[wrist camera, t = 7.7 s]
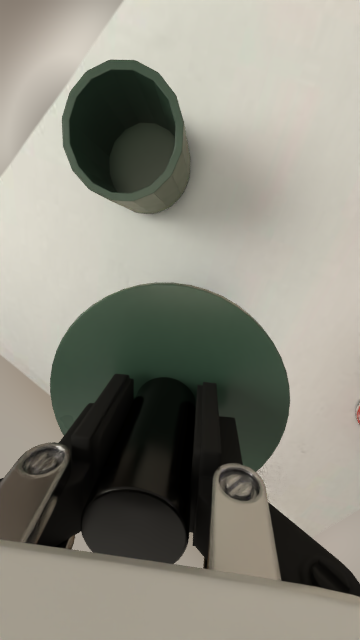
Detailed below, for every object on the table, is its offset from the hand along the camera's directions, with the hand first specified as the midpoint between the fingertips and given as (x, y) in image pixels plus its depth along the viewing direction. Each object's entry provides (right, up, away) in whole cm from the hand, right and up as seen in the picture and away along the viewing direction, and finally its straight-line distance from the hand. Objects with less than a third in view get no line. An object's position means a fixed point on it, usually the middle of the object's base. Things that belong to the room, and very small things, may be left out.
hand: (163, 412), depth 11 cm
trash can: (-3, +20, +19) cm, 28 cm away
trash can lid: (0, 0, +1) cm, 1 cm away
